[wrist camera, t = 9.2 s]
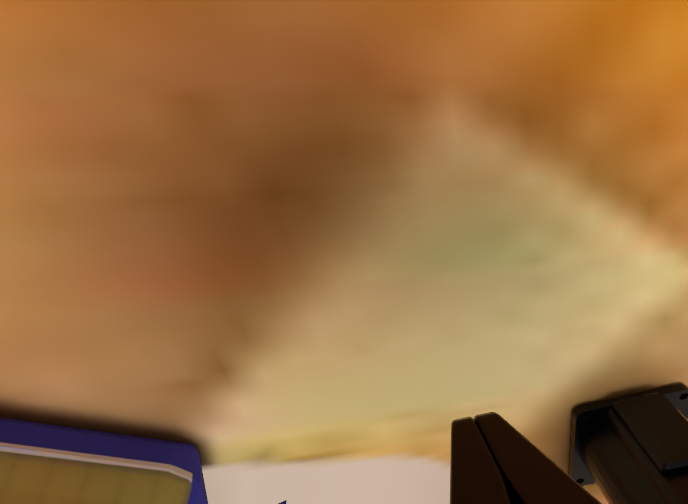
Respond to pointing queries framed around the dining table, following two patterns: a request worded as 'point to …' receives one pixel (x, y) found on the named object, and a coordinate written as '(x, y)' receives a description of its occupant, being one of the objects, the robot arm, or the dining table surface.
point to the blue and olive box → (94, 467)
